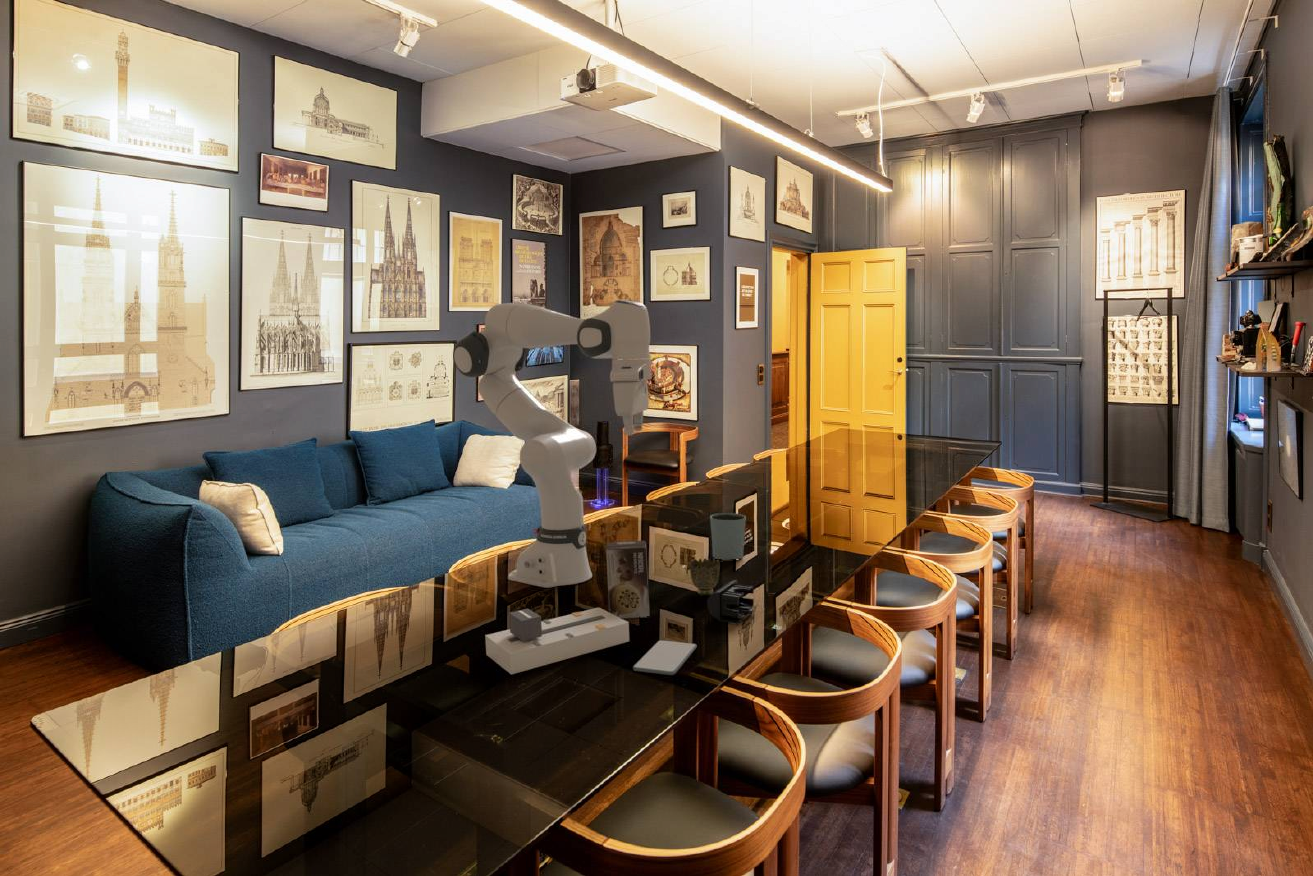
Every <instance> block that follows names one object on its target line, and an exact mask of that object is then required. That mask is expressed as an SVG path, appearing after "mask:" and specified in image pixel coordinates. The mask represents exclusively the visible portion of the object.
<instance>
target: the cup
mask: <svg viewBox="0 0 1313 876" xmlns="http://www.w3.org/2000/svg"><path fill="white" fill-rule="evenodd" d="M689 562H690V563H689V570H690V577H691V583H692V584H693V586H694V587H695V588H697V593H698V595H699V596H703V595H708V596H711V595H712V594H713V593H714V589H713V588H715V587H716V586H717V584H718V582H719V579H720V569H721V568H720V567H721V561H719V560H715V559H714V558H713V559H710V558H708V559H707V558H703V560H702V558H699V559H698V560H697V559H696V558H694V559H693V560H689Z"/></svg>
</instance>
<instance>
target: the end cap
mask: <svg viewBox="0 0 1313 876" xmlns="http://www.w3.org/2000/svg"><path fill="white" fill-rule="evenodd" d="M754 590H755V589H754V586H753V585H748V584H740V583H739V581H738V579H737V580H736V579H735V580H731V581H729V582H727V583H726V584H725V585H723V586H722V587H720V588H719V589H717V590H716V591H713V593H712V594H711V595H709V597H708V599H707V609H708V612H709V613H710V614H711V615H712V616H713V617H714V618H715V619H716V620H717V621H719V622H721V621H722V622H721V623H726V622H728V623H727V624H732V623H739V624H741V623H742V622H743V621H744V620H745V619H746V618H745V617H746V616H747V615H748V614H750V613H751V612H752V611H753V612H754V609H753V608H754V605H755V603H754V602H755V599H754V598H751V597H744V593H745V594H753V595H754V592H755V591H754ZM751 614H752V613H751ZM751 614H750V615H751ZM744 618H745V619H744ZM743 619H744V620H743ZM742 620H743V621H742ZM741 621H742V622H741ZM740 622H741V623H740Z"/></svg>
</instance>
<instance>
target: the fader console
mask: <svg viewBox="0 0 1313 876" xmlns="http://www.w3.org/2000/svg"><path fill="white" fill-rule="evenodd" d="M541 626H542V637H538V638H534V639H530V640H526V641H522V640H520V639H519V638H517V637H516V636H515V635H513V634H512V633H510V628H509V629H506V630H501V631H497V632H494V633H489V634H485V635H484V637H485V652H486V653H485V654H486V656H487V657H489V658H490V659H491V660H492V661H494V662H495V664H498V665H499V666H500V667H501V668H502V669H503V670H505V671H506V672H508V673H509V674H510V675H515V674H517V673H518V674H519V673H521V672H525V671H529V670H532V669H535V668H539V667H542V666H543V667H544V666H547V665H549V664H553V663H557V662H560V661H564V660H567V659H571V658H575V657H578V656H581V655H582V656H583V655H585V654H589V653H593V652H596V651H599V650H604V649H606V648H610V647H614V646H617V645H621V644H625V643H627V642H630V623H629V621H627V620H625V619H624V618H622V619H621V618H619V617H617V616H615V615H613V614H611V613H609V611H607V610H606V609H602V608H601V607H595V608H591V609H587V610H584V611H575V612H572V613H571V614H567V615H563V616H558V617H555V618H549V619H543V620H541Z"/></svg>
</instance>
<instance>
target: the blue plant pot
mask: <svg viewBox="0 0 1313 876" xmlns="http://www.w3.org/2000/svg"><path fill="white" fill-rule="evenodd" d="M746 521H747V517H746V515H744V514H740V513H734V512H722V513H721V512H720V513H714V514H711V515H710V516H709V522H710V531H711V533H710V534H711V542H712V543H711V547H712V549H711V550H712V558H713V557H714V558H715V559H722V560H730V559H740V558H742V557H743V558H744V548H745V545H744V544H745V534H746V533H745V532H746V524H747V523H746ZM714 558H713V559H714ZM743 558H742V559H743Z"/></svg>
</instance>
